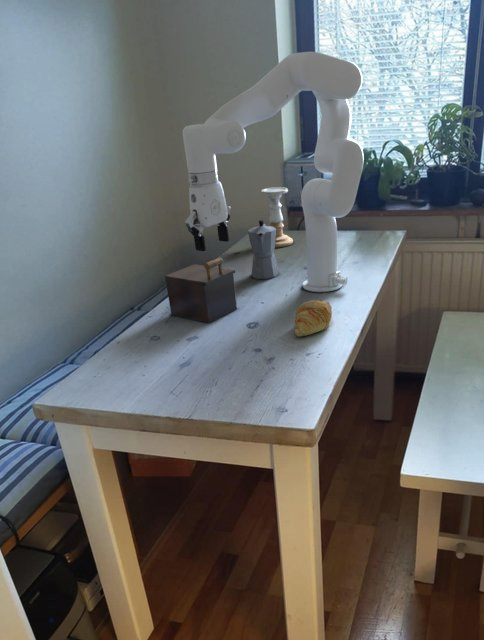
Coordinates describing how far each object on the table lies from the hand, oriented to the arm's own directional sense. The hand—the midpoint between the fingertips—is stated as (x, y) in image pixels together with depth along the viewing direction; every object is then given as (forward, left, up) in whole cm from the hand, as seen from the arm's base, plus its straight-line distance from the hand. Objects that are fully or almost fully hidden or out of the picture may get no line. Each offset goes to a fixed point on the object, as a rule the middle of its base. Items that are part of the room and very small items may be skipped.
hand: (212, 245), depth 166 cm
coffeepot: (+12, -38, -20) cm, 44 cm away
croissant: (-29, -5, -20) cm, 35 cm away
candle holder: (+32, -73, -20) cm, 82 cm away
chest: (+6, 0, -20) cm, 21 cm away
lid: (+6, 0, -9) cm, 11 cm away
